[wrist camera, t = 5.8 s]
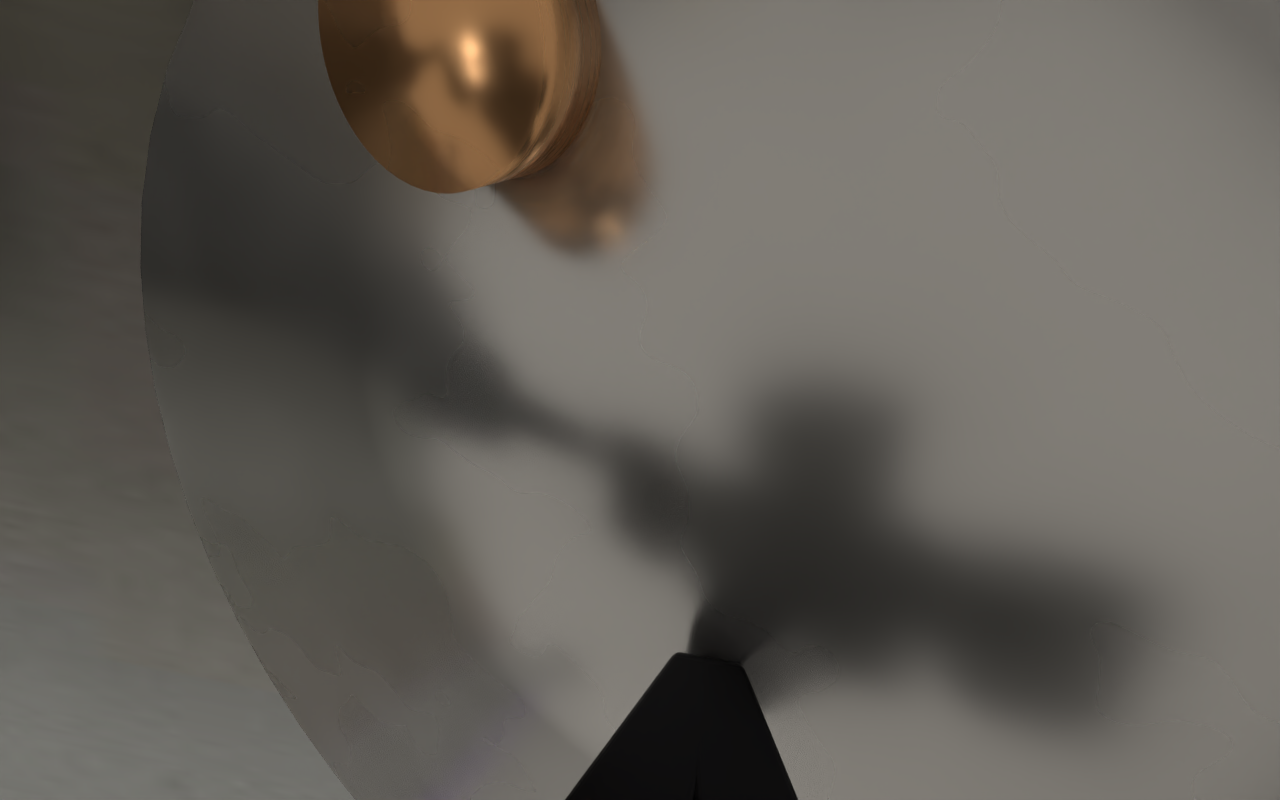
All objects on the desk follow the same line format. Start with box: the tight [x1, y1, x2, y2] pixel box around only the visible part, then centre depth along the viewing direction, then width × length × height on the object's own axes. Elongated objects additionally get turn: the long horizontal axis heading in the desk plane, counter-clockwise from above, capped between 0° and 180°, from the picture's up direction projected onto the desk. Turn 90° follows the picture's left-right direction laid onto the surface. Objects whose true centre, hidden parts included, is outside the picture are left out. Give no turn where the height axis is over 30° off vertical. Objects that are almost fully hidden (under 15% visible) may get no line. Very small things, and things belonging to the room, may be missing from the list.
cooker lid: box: [141, 0, 1280, 800], centre depth 9 cm, size 17×15×2 cm
